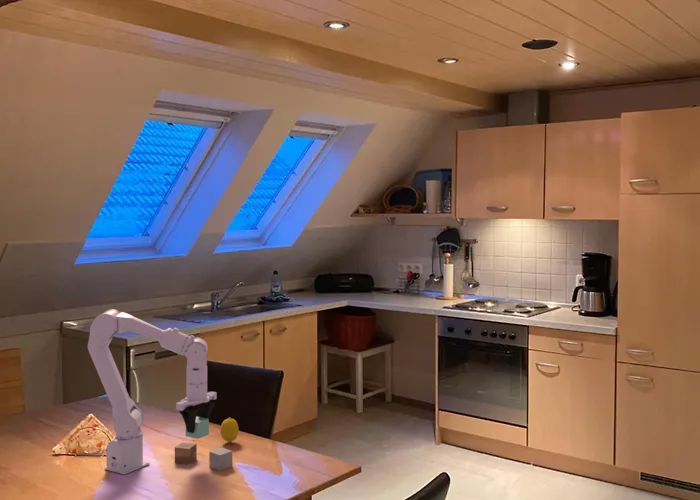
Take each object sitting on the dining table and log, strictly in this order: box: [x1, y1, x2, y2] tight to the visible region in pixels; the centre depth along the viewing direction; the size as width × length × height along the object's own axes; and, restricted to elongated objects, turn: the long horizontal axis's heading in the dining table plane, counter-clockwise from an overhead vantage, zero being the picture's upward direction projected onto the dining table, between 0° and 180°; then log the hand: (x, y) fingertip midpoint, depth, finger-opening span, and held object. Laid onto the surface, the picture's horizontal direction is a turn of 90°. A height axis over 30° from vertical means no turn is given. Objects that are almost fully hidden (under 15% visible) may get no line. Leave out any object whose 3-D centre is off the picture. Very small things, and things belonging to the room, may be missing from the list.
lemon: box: [220, 417, 240, 444], centre depth 215 cm, size 6×6×8 cm
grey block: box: [208, 447, 233, 472], centre depth 195 cm, size 4×4×4 cm
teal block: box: [185, 416, 210, 440], centre depth 196 cm, size 4×4×4 cm
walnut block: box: [174, 441, 198, 465], centre depth 199 cm, size 4×4×4 cm
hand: (197, 429), depth 196 cm, fingers closed on teal block, 4 cm apart
